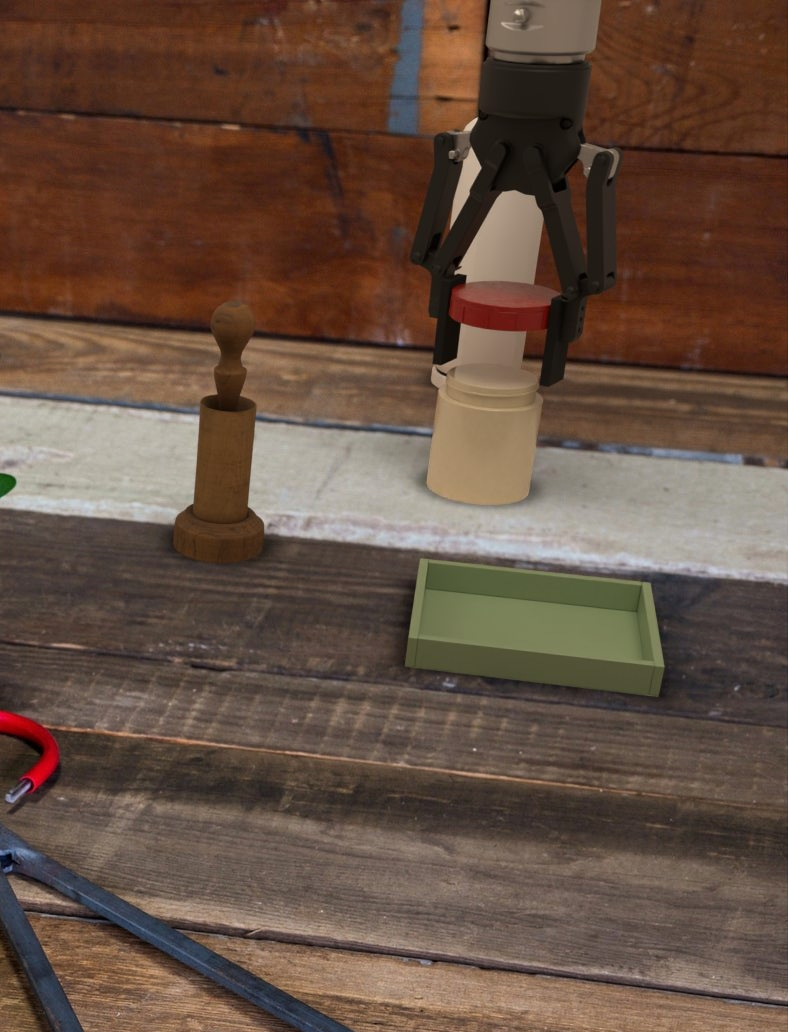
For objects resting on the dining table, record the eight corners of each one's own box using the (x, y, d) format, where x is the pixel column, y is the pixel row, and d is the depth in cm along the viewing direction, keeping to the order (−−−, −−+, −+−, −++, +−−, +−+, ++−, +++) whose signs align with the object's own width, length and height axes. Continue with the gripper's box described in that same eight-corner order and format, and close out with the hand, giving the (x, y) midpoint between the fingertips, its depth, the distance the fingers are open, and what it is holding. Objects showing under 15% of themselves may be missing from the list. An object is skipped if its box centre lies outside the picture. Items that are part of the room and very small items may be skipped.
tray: (644, 616, 113) (650, 582, 112) (657, 703, 102) (665, 666, 101) (415, 591, 116) (420, 557, 115) (403, 673, 105) (408, 637, 104)
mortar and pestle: (258, 572, 119) (279, 319, 110) (167, 564, 120) (180, 312, 111) (265, 537, 124) (285, 294, 116) (178, 530, 125) (191, 288, 117)
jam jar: (527, 480, 137) (545, 366, 132) (528, 515, 130) (547, 395, 125) (428, 471, 138) (442, 357, 134) (423, 504, 131) (438, 385, 127)
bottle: (416, 390, 158) (454, 73, 145) (450, 370, 164) (491, 65, 151) (497, 406, 154) (545, 82, 141) (530, 386, 160) (578, 73, 147)
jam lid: (488, 298, 132) (491, 275, 132) (580, 318, 127) (584, 294, 126) (427, 316, 127) (430, 292, 127) (520, 337, 122) (523, 313, 121)
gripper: (380, 48, 122) (352, 357, 132) (664, 73, 110) (608, 409, 121) (429, 40, 127) (398, 337, 138) (704, 63, 115) (648, 386, 126)
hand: (497, 371), depth 129 cm, fingers closed on jam lid, 8 cm apart
